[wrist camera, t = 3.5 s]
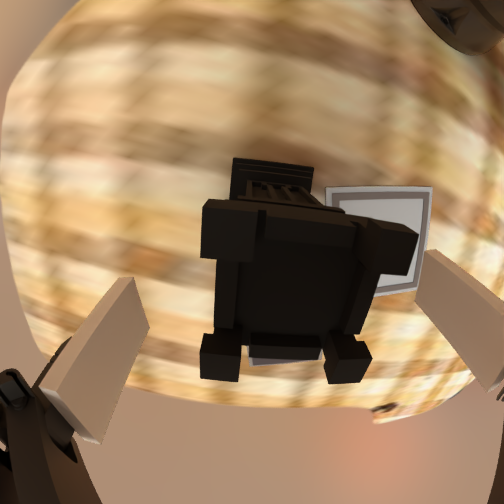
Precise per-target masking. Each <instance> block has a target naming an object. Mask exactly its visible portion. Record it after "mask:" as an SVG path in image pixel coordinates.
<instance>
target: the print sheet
mask: <svg viewBox="0 0 504 504" xmlns="http://www.w3.org/2000/svg"><path fill="white" fill-rule="evenodd" d="M432 188H433V187H425V186H350V187H325V193H326V206H331V207H338V208H342V209H343V210H344V211H345V214H351V215H357V216H363V217H370V218H373V219H377V220H383V221H389V222H395V223H400V224H404V225H406V226H407V227H409V228H410V229H412V230H413V231H415V232H417V233H418V234H420V235H419V239H418V242H417V246H416V249H415V252H414V256H413V259H412V262H411V265H410V268H409V271H408V274H407V276H398V275H385V274H381V276H380V279H379V282H378V285H377V288H376V291H375V294H374V297H376V296H383V295H389V294H396V293H402V292H408V291H413V290H417V288H418V283H419V278H420V273H421V268H422V262H423V256H424V251H426V248H427V241H428V233H429V225H430V215H431V204H432Z"/></svg>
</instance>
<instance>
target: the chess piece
mask: <svg viewBox="0 0 504 504" xmlns="http://www.w3.org/2000/svg"><path fill="white" fill-rule="evenodd" d="M313 172H314V168H313V167H307V166H300V165H293V164H286V163H278V162H270V161H262V160H252V159H242V158H233V164H232V175H231V186H230V197H229V200H227V199H225V200H218V199H208V200H207V202H206V203H205V204H204V206H203V208H202V227H201V251H200V258H207V259H217V262H216V280H215V302H214V333H213V334H207V333H204V335H203V339H202V344H201V348H200V378H201V379H210V380H219V381H229V382H238V378H239V370H240V362H241V346H242V345H245V346H249V358H263V359H284V360H318V358H319V355H320V352H321V349H323V353H324V356H325V359H326V361H325V363H324V370H325V373H326V377H327V380H328V384H345V383H359V382H361V380H362V378H363V376H364V374H365V372H366V370H367V368H368V367H369V365H370V363H371V361H372V359H373V358H372V356H371V354H370V352H369V350H368V348H367V346H366V344H365V342H364V341H356V339H355V336H354V334H360V332H361V329H362V327H363V324H364V322H365V319H366V316H367V314H368V311H369V308H370V305H371V303H372V300H373V297H374V294H375V291H376V288H377V285H378V282H379V279H380V276H381V274H385V275H398V276H407V274H408V271H409V268H410V265H411V262H412V259H413V256H414V252H415V249H416V246H417V242H418V239H419V235H420V234H418V233H417V232H415V231H413V230H412V229H410V228H409V227H407V226H406V225H404V224H400V223H395V222H389V221H383V220H377V219H373V218H370V217H363V216H357V215H351V214H345V211H344V210H343V209H342V208H338V207H331V206H324V205H323V204H321V203H320V202H319V201H318V200H317V199H316V198H315V197H314V196H312V195H311V194H310V192H311V185H312V178H313Z"/></svg>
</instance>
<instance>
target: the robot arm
mask: <svg viewBox="0 0 504 504" xmlns="http://www.w3.org/2000/svg"><path fill="white" fill-rule="evenodd" d="M412 2H413V4H414V6H415V7H416V9H417V10H418V12H419V13H420V15H421V16H422V17H423V19H424V20H425V21H426V22H427V24H428V25H429V26H430V27H431V28H432V29H433V30H434V31H435V32H436V33H437V34H438V35H439V36H440V37H441V38H442V39H443V40H444V41H445V42H447V43H448V44H449V45H450V46H452V47H453V48H455V49H456V50H458V51H460V52H462V53H465V54H468V55H478V54H483V53H486V52H488V51H489V50H491V48H492V47H494V46H495V45H496V44H497V43H499V42H500V41H501V40H502V39H503V38H504V0H412ZM415 302H416V303H417V305H418V306H419V307H420V308H421V309H422V310H423V312H424V313H425V314H426V315H427V316H428V317H429V319H430V320H431V321H432V322H433V323H434V324H435V326H436V327H437V328H438V329H439V330H440V332H441V333H442V334H443V335H444V337H445V338H446V339H447V340H448V342H449V343H450V344H451V345H452V347H453V348H454V349H455V350H456V352H457V353H458V354H459V356H460V357H461V358H462V360H463V361H464V362H465V364H466V365H467V366H468V368H469V369H470V370H471V372H472V373H473V375H474V376H475V377H476V379H477V380H478V382H479V383H480V384H481V386H482V387H483V389H484V390H485V392H486V393H488V392H490V391H491V390H493V389H495V388H496V387H498V386H499V384H500V383H501V381H502V380H503V378H504V302H503V301H502V300H501V299H500V298H498V297H497V296H496V295H495V294H494V293H492V292H491V291H490V290H489V289H488V288H486V287H485V286H484V285H483V284H481V283H480V282H479V281H478V280H476V279H475V278H474V277H473V276H471V275H470V274H469V273H467V272H466V271H465V270H464V269H462V268H461V267H460V266H458V265H457V264H456V263H454V262H453V261H451V260H450V259H449V258H447V257H446V256H445V255H443V254H442V253H440V252H439V251H437V250H436V249H435V250H427V251H424V256H423V262H422V268H421V273H420V278H419V283H418V288H417V293H416V297H415ZM149 328H150V327H149V324H148V321H147V318H146V316H145V313H144V310H143V306H142V303H141V300H140V297H139V294H138V291H137V287H136V284H135V280H134V277H123V278H118V279H117V281H116V282H115V283H114V284H113V285H112V287H111V288H110V289H109V290H108V291H107V293H106V294H105V295H104V296H103V298H102V299H101V300H100V301H99V303H98V304H97V305H96V306H95V308H94V309H93V310H92V311H91V313H90V314H89V315H88V317H87V318H86V319H85V320H84V322H83V323H82V324H81V326H80V327H79V328H78V330H77V331H76V332H75V334H74V335H73V337H70V338H69V339H67V340H66V341H65V342H64V343H62V344H61V346H60V347H59V348H58V350H57V351H56V352H55V355H53V357H52V358H51V360H50V363H48V364H47V365H46V367H45V368H44V370H43V371H42V373H41V374H40V376H39V377H38V379H37V380H36V382H35V383H34V385H33V386H32V388H30V387H29V385H28V384H27V382H26V381H25V379H24V378H23V377H22V375H21V374H20V372H19V371H18V370H16V369H12V368H11V369H6V370H4V371H3V372H1V373H0V441H1V442H2V443H3V444H4V445H5V446H6V450H5V451H3V450H2V449H1V448H0V504H102V502H101V500H100V498H99V496H98V494H97V492H96V490H95V488H94V486H93V484H92V481H91V479H90V477H89V474H88V472H87V470H86V467H85V465H84V462H83V459H82V457H81V454H80V452H79V449H78V446H77V443H76V441H75V440H74V438H73V437H72V435H73V433H74V431H76V432H77V433H78V434H79V435H80V436H81V438H82V439H83V440H86V441H90V442H93V443H97V444H102V441H103V438H104V435H105V433H106V430H107V427H108V425H109V422H110V419H111V417H112V414H113V412H114V409H115V407H116V404H117V402H118V399H119V397H120V394H121V392H122V389H123V387H124V385H125V382H126V380H127V378H128V375H129V373H130V371H131V368H132V366H133V364H134V361H135V359H136V357H137V355H138V352H139V350H140V348H141V346H142V343H143V341H144V339H145V337H146V335H147V333H148V330H149ZM503 394H504V387H503V389H502V390H501V392H500V393H499V394H498V396H497V399H496V400H499V399H500V397H501V396H502V395H503ZM501 401H504V397H503V398H502V400H501ZM487 504H504V424H503V434H502V441H501V448H500V454H499V459H498V464H497V469H496V475H495V478H494V482H493V486H492V489H491V493H490V496H489V500H488V503H487Z"/></svg>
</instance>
